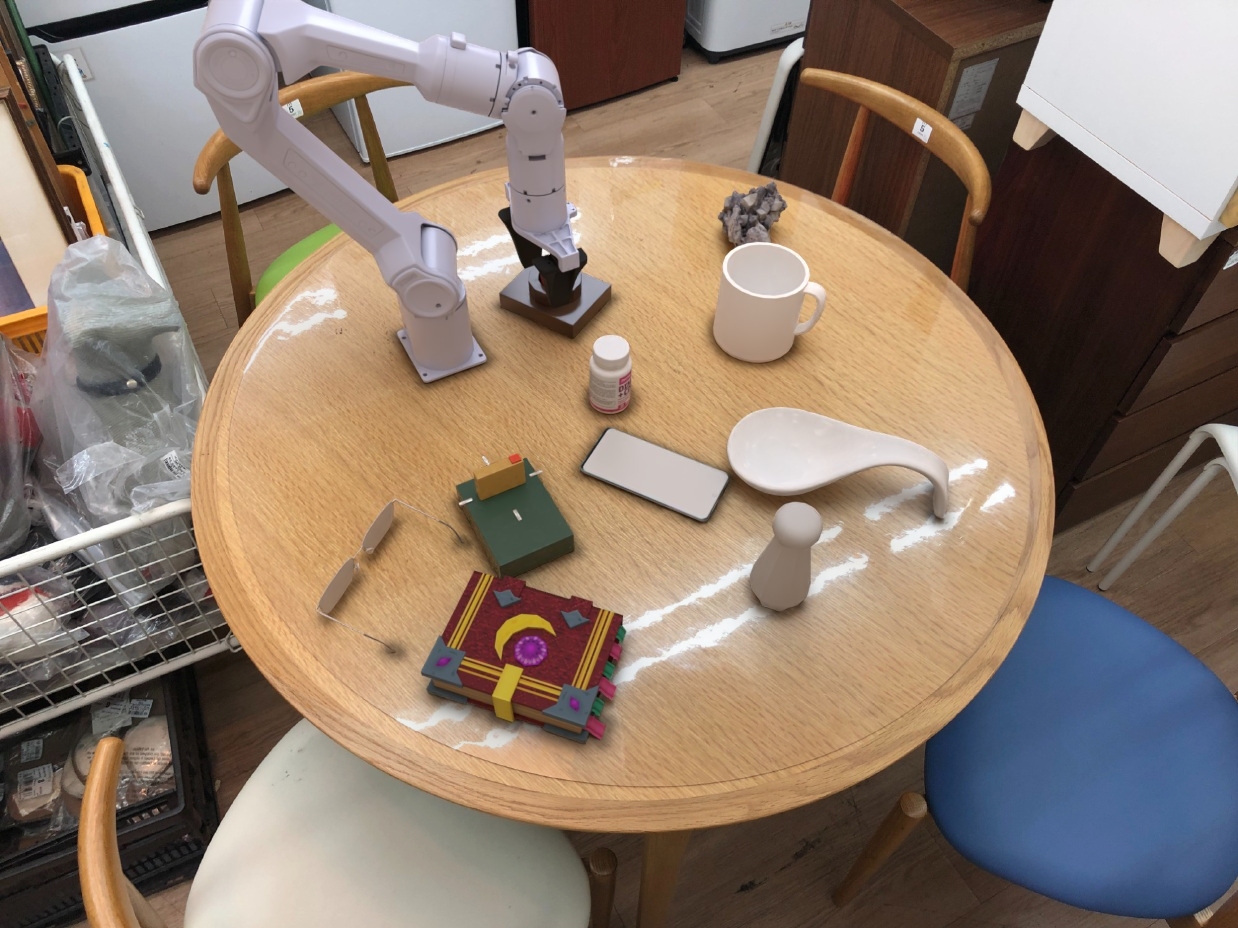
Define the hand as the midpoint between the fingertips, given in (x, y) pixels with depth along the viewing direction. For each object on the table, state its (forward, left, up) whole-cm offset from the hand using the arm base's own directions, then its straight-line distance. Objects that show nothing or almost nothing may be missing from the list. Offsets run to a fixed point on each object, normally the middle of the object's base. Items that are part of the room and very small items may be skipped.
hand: (545, 284), depth 101 cm
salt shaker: (+42, +4, -10) cm, 43 cm away
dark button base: (-7, +4, -9) cm, 12 cm away
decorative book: (+37, -20, -10) cm, 44 cm away
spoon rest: (+33, +18, -10) cm, 39 cm away
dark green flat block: (+21, -15, -9) cm, 28 cm away
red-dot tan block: (+20, -15, -6) cm, 25 cm away
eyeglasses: (+23, -28, -10) cm, 37 cm away
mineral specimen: (-6, +33, -10) cm, 35 cm away
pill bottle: (+11, +2, -10) cm, 15 cm away
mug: (+11, +24, -10) cm, 28 cm away
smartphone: (+23, +1, -10) cm, 25 cm away
